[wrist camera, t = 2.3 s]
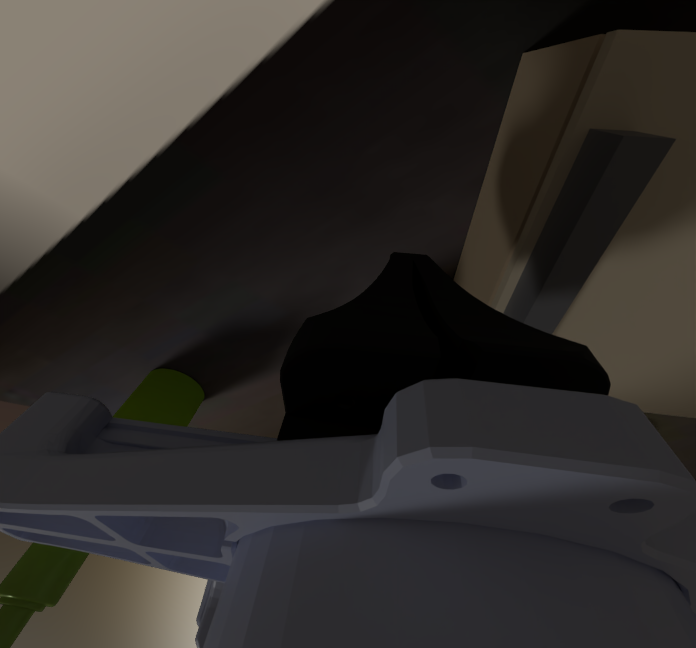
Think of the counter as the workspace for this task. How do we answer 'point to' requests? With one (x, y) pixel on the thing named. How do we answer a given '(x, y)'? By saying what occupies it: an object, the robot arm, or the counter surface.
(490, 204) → the carton
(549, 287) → the carton lid
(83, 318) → the counter surface
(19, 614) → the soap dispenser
